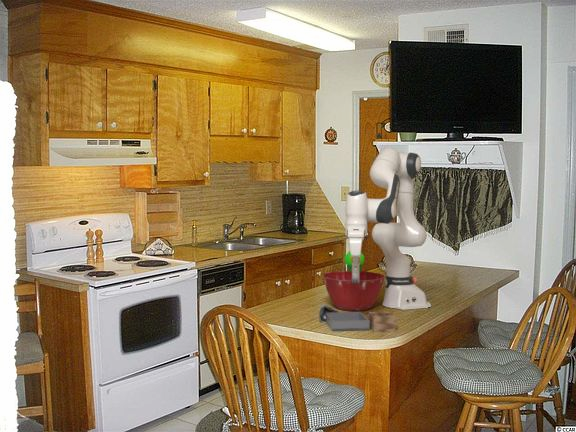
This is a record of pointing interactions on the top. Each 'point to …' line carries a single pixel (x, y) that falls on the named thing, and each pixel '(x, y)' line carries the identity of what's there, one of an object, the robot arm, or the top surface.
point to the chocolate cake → (325, 310)
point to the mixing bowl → (353, 289)
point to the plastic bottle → (349, 263)
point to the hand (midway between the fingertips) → (355, 265)
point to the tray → (347, 321)
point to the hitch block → (382, 321)
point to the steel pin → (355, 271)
